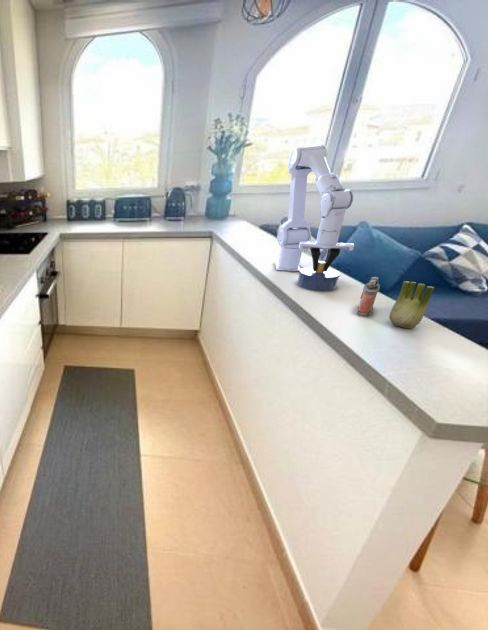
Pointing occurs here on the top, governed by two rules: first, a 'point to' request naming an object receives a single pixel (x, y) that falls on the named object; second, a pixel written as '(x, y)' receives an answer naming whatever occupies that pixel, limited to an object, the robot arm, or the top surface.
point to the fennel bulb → (410, 305)
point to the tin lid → (320, 272)
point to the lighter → (368, 297)
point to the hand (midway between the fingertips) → (319, 270)
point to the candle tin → (317, 283)
